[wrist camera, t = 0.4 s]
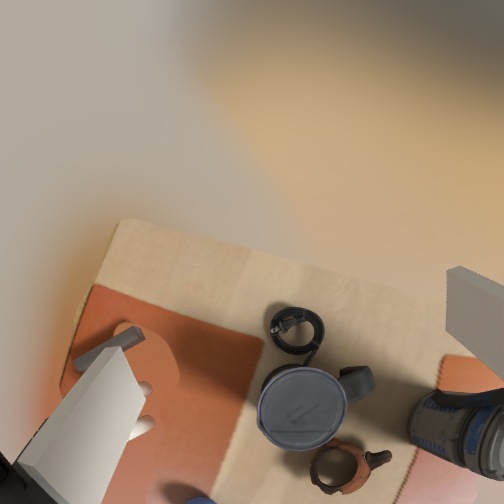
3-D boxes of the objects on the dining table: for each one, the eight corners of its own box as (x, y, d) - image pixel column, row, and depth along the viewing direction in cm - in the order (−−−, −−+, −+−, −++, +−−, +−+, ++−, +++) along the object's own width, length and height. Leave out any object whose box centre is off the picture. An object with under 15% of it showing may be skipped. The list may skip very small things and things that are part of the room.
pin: (155, 392, 41) (132, 397, 33) (143, 398, 40) (118, 404, 32) (147, 379, 42) (123, 381, 34) (136, 385, 41) (110, 388, 33)
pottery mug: (326, 498, 34) (313, 505, 28) (311, 450, 40) (297, 449, 35) (398, 472, 32) (399, 475, 26) (380, 424, 39) (378, 418, 33)
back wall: (145, 339, 44) (137, 337, 41) (87, 371, 42) (77, 371, 39) (140, 328, 44) (132, 325, 42) (82, 361, 43) (73, 360, 40)
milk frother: (283, 434, 38) (290, 467, 24) (222, 352, 43) (200, 348, 29) (359, 378, 40) (400, 384, 26) (299, 298, 45) (313, 269, 31)
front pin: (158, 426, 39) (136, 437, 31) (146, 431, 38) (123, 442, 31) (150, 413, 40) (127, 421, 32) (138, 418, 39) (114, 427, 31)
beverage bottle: (434, 367, 39) (546, 356, 16) (462, 422, 35) (565, 437, 12) (388, 405, 38) (491, 432, 15) (419, 460, 34) (513, 506, 10)
